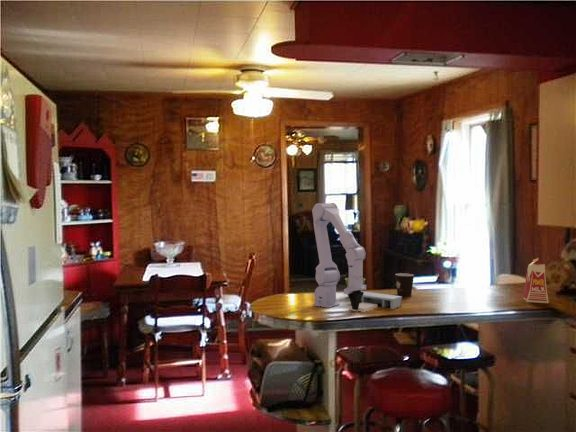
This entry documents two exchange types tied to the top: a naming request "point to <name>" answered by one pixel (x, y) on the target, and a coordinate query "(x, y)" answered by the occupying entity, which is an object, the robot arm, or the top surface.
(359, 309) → the tile
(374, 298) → the shelf
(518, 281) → the top surface
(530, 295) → the milk carton
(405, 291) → the coffee mug
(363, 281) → the plant pot
